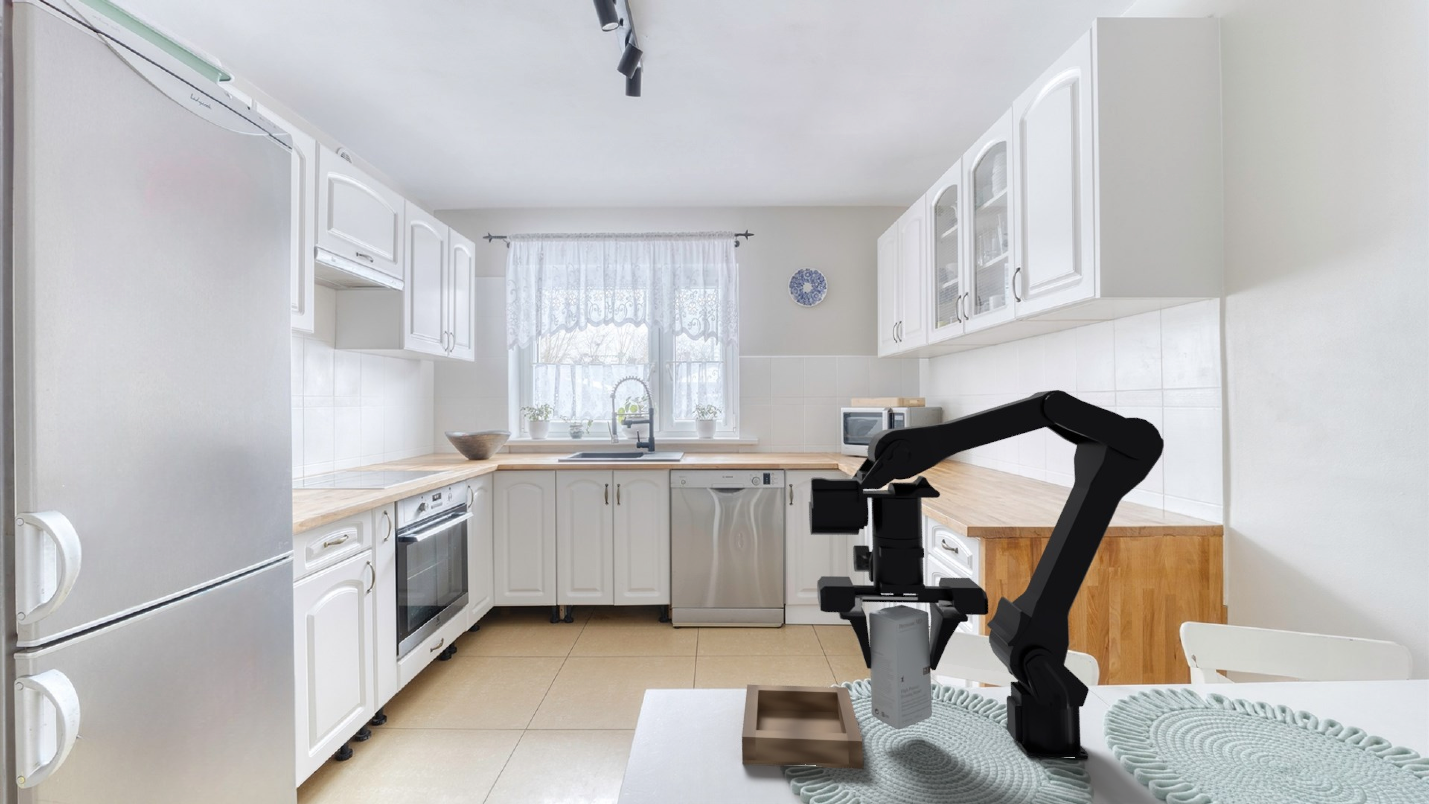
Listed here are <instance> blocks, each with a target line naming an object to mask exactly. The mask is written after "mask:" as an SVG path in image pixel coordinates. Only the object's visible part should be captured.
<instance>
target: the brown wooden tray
mask: <svg viewBox="0 0 1429 804" xmlns="http://www.w3.org/2000/svg"><path fill="white" fill-rule="evenodd" d="M828 687H829V688H828ZM745 693H746V694H745V703H744V711H743V712H744V713H743V723H742V730H741V731H742V732H741V733H742V734H741V750H742V751H741V763H742V765H757V766H760V765H761V766H780V767H781V766H783V767H785V766H784V765H805V764H806V765H816V766H822V767H821V768H826V769H827V768H828V769H830V768H831V769H855V770H856V769H857V770H864V754H863V752H864V751H863V750H864V749H863V738H862V735H861V731H860V727H859V724H858V720H857V717H856V712H855V709H854V705H853V702H852V697H851V695H850V691H849V687H847V686H845V687H844V686H842V687H840V686H815V685H814V686H813V685H811V686H809V685H807V686H806V685H781V684H779V685H775V684H774V685H771V684H770V685H769V684H747V685H746V692H745Z"/></svg>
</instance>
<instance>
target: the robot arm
mask: <svg viewBox="0 0 1429 804" xmlns="http://www.w3.org/2000/svg"><path fill="white" fill-rule="evenodd" d="M1043 428H1047V429H1048V430H1050V431H1052V432H1053V433H1054V434H1056V435H1057V436H1059V437H1060V438H1061V439H1063V440H1065V441H1066V442H1069V443H1070V444H1072V445H1075V446H1076V448H1075V452H1074V456H1073V468H1074V470H1073V471H1074V482H1073V483H1074V484H1073V485H1072V486H1073V487H1072V488H1071V491H1070V492H1069V495H1068V497H1067V500H1066V502H1065V504H1064V506H1063V508H1062V510H1061V513H1060V515H1059V516H1058V519H1057V521H1056V524H1055V526H1054V528H1053V531H1052V532H1051V535H1050V537H1049V539H1048V541H1047V543H1046V545H1045V548H1044V550H1043V553H1042V554H1041V556H1040V559H1039V561H1038V563H1037V565H1036V567H1035V570H1034V573H1033V574H1032V576H1031V579H1030V580H1029V583H1028V585H1027V587H1026V589H1025V591H1024V592H1023V593H1022V594H1020V595H1019V596H1018V597H1017V598H1015V599H1014V600H1013V601H1010V600H1009V599H1008V598H1006V597H1005V596H1001V597H1000V599H998V600H999V601H998V604H997V607H996V611H995V614H994V615H993V617H992V618H991V619H990V620H989V621H988V623H986V627H988V628H989V629H990V631H989V635H988V642H989V644H990V645H989V646H990V648H991V650H992V652H993V654H994V655H995V657H996V658H997V659H998V660H999V661H1000V662H1001V663H1002V664H1003V666H1005V667H1006V669H1007V671H1008V673H1009V674H1010V675H1012V676H1013V678H1015V679H1016V681H1011V682H1010V695H1007V696H1006V722H1007V723H1006V727H1005V728H1006V730H1007V732H1008V733H1009V735H1010V736H1011V737H1012V738H1013V739H1014V741H1015V742H1016V743H1017V744H1018V746H1019V748H1021V750H1022V751H1023V752H1024V753H1025V755H1026V756H1027V757H1030V758H1046V759H1048V758H1049V759H1062V758H1061V757H1075V758H1076V759H1077V760H1088V759H1089V752H1087V751H1086V749H1085V748H1084V747H1083V746H1082V745H1081V744H1082V743H1081V742H1082V741H1081V717H1080V716H1081V715H1080V707H1084V705H1085V703H1086V700H1087V696H1088V694H1089V692H1090V690H1089V687H1088V686H1087V685H1086V684H1085V683H1084V682H1083V681H1082V680H1081V679H1080V678H1078V677H1077V676H1076V675H1075V674H1074V673H1073V672H1072V671H1071V670H1070V669H1069V668H1068V667H1067V666H1066V665H1065V663H1066V659H1067V655H1068V651H1069V647H1070V626H1069V625H1070V621H1069V619H1070V618H1069V617H1070V612H1071V609H1072V607H1073V604H1074V602H1075V601H1076V598H1077V596H1078V595H1079V592H1080V589H1081V588H1082V585H1083V582H1084V581H1085V578H1086V576H1087V574H1088V572H1089V569H1090V567H1091V565H1092V563H1093V561H1094V559H1095V556H1096V554H1097V552H1098V550H1099V547H1100V545H1101V543H1102V541H1103V538H1104V537H1105V535H1106V532H1107V530H1108V528H1109V526H1110V524H1111V521H1112V519H1113V517H1114V515H1115V513H1116V510H1117V508H1118V507H1119V504H1120V502H1121V501H1122V499H1124V497H1125V496H1126V495H1128V494H1129V493H1130V492H1131V491H1133V490H1134V489H1135V488H1136V487H1138V485H1140V484H1141V483H1142V482H1143V481H1144V480H1146V478H1147V477H1148V475H1149V474H1150V472H1151V471H1152V470H1153V468H1154V467H1155V465H1156V464H1157V462H1158V461H1159V460H1160V458H1161V456H1162V455H1163V451H1164V446H1165V443H1164V442H1165V441H1164V439H1163V438H1162V436H1161V434H1160V431H1159V430H1158V429H1157V427H1156V426H1155V425H1154V424H1153V423H1151V422H1150V421H1148V420H1147V419H1144V418H1140V417H1124V416H1123V415H1121V414H1119V413H1117V412H1114V411H1111V410H1109V409H1106V408H1103V407H1101V406H1099V405H1098V406H1097V405H1095V404H1091V403H1090V402H1086V401H1084V400H1081V399H1079V398H1078V397H1076V396H1073V395H1072V394H1070V393H1068V392H1066V391H1064V390H1060V389H1056V390H1055V389H1054V390H1047V391H1046V390H1045V391H1037V392H1035V393H1033V394H1032V395H1030V396H1028V397H1025V398H1021V399H1018V400H1014V401H1012V402H1008V403H1005V404H1002V405H997V406H994V407H991V408H987V409H984V410H981V411H977V412H975V413H974V412H973V413H971V414H967V415H964V416H961V417H957V418H954V419H951V420H947V421H944V422H940V423H933V424H924V425H923V424H922V425H915V426H905V427H896V428H888V429H883V430H881V431H879V432H877V433H875V434H874V435H873V436H872V438H871V439H870V441H869V443H868V447H867V450H866V451H867V457H866V458H865V460H864V461H863V462H862V464H861V465H860V467H859V468H858V469H857V470H856V472H855V473H854V475H853V476H852V478H826V477H814V476H813V477H811V478H810V496H809V497H810V499H809V500H810V501H808V520H809V532H810V535H812V536H813V535H814V536H815V535H816V536H817V535H818V536H821V535H822V536H826V535H827V536H830V535H831V536H833V535H834V536H836V535H837V536H839V535H841V536H845V535H846V536H859V534H860V530H865V527H867V526H868V525H869V504H868V502H869V500H868V499H871V530H872V531H871V534H872V537H871V538H872V541H871V542H872V549H871V551H870V546H869V545H865V544H864V545H861V544H860V545H854V546H853V547H852V554H853V556H852V561H853V571H854V572H857V573H858V572H859V573H861V572H862V573H864V572H865V573H866V572H868V580H869V581H870V583H872V584H873V585H870V584H869V585H868V584H867V585H866V584H865V585H863V584H859V585H858V584H853V582H852V580H851V577H850V576H838V575H837V576H832V575H831V576H826V575H824V576H821V577H820V578H819V579H818V580H817V583H816V585H817V586H816V587H817V590H816V591H817V593H816V594H817V595H816V596H817V597H816V598H817V601H818V604H819V605H818V606H819V610H820V611H821V612H824V613H837V614H838V616H839V619H841V620H843V621H848V622H849V623H850V625H851V626H852V629H853V631H854V633H855V636H856V638H857V641H858V644H859V647H860V650H861V652H862V653H861V654H862V658H863V660H864V663H865V666H866V668H867V669H868V670H869V669H870V670H871V652H870V635H869V627H868V621H867V615H866V612H865V611H864V608H863V603H906V604H907V603H908V604H909V603H910V604H913V603H914V604H918V603H919V604H929V611H930V612H929V613H930V627H929V644H930V670H931V671H936V669H937V668H938V665H939V663H940V661H941V658H942V656H943V654H944V652H945V650H946V647H947V645H948V643H949V641H950V639H951V638H952V637H953V634H954V633H955V631H956V629H957V628H958V627H959V625H960V623H967V622H968V621H969V616H970V615H973V616H976V615H977V616H986V615H988V614H989V598H988V593H987V592H986V591H985V589H983V588H982V587H981V586H980V585H978V584H977V583H976V582H975V581H974V580H973V579H971V578H970V577H940V579H939V581H938V585H925V584H924V583H925V582H924V576H925V575H924V558H925V548H924V543H923V542H924V540H923V510H922V509H923V508H922V507H923V505H922V499H927V498H928V499H931V498H932V499H934V498H937V499H938V498H939V497H940V496H941V493H940V491H939V490H937V489H936V488H935V487H933V485H931V484H930V482H929V481H928V479H927V478H926V477H925V476H923V475H919V474H921V473H923V472H926V471H927V470H930V469H932V468H934V467H936V466H937V465H939V464H941V462H942V463H943V461H945V460H946V459H948V458H950V457H952V456H954V455H956V454H958V453H961V452H965V451H969V450H971V449H976V448H979V447H982V446H987V445H989V444H992V443H996V442H999V441H1002V440H1006V439H1009V438H1013V437H1016V436H1020V435H1023V434H1026V433H1031V432H1033V431H1038V430H1041V429H1043ZM917 475H918V477H916V479H915V480H914V481H912V482H911V481H910V482H892V481H894V480H898V481H901V480H902V481H903V480H909V479H911V478H914V477H915V476H917ZM886 485H887V486H888V487H887V489H882V488H883V487H885V486H886ZM1076 759H1075V760H1076Z"/></svg>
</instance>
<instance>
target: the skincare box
mask: <svg viewBox="0 0 1429 804" xmlns="http://www.w3.org/2000/svg"><path fill="white" fill-rule="evenodd" d="M868 617H869V619H868V624H869V627H868V630H869V644H870V652H871V669H870V697H871V700H870V703H871V706H870V707H871V716H872V717H874V718H875V719H876V720H879V721H880V722H881V723H884V724H885V725H888V726H890V727H891V728H893V729H895V730H902V729H905V728H907V727H910V726H913V725H915V724H918V723H920V722H923V721H925V720H927V719H930V718H931V716H933V709H932V708H933V706H932V705H933V703H932V681H931V680H932V678H931V676H932V673H931V671H932V670H931V668H930V626H929V625H930V623H929V621H930V620H929V612H927V611H925V610H923V609H918V608H915V607H911V606H907V605H904V604H899V605H895V606H891V607H890V606H889V607H888V606H887V607H883V608H881V609H878V610H874V611H870V612H869V613H868Z"/></svg>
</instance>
